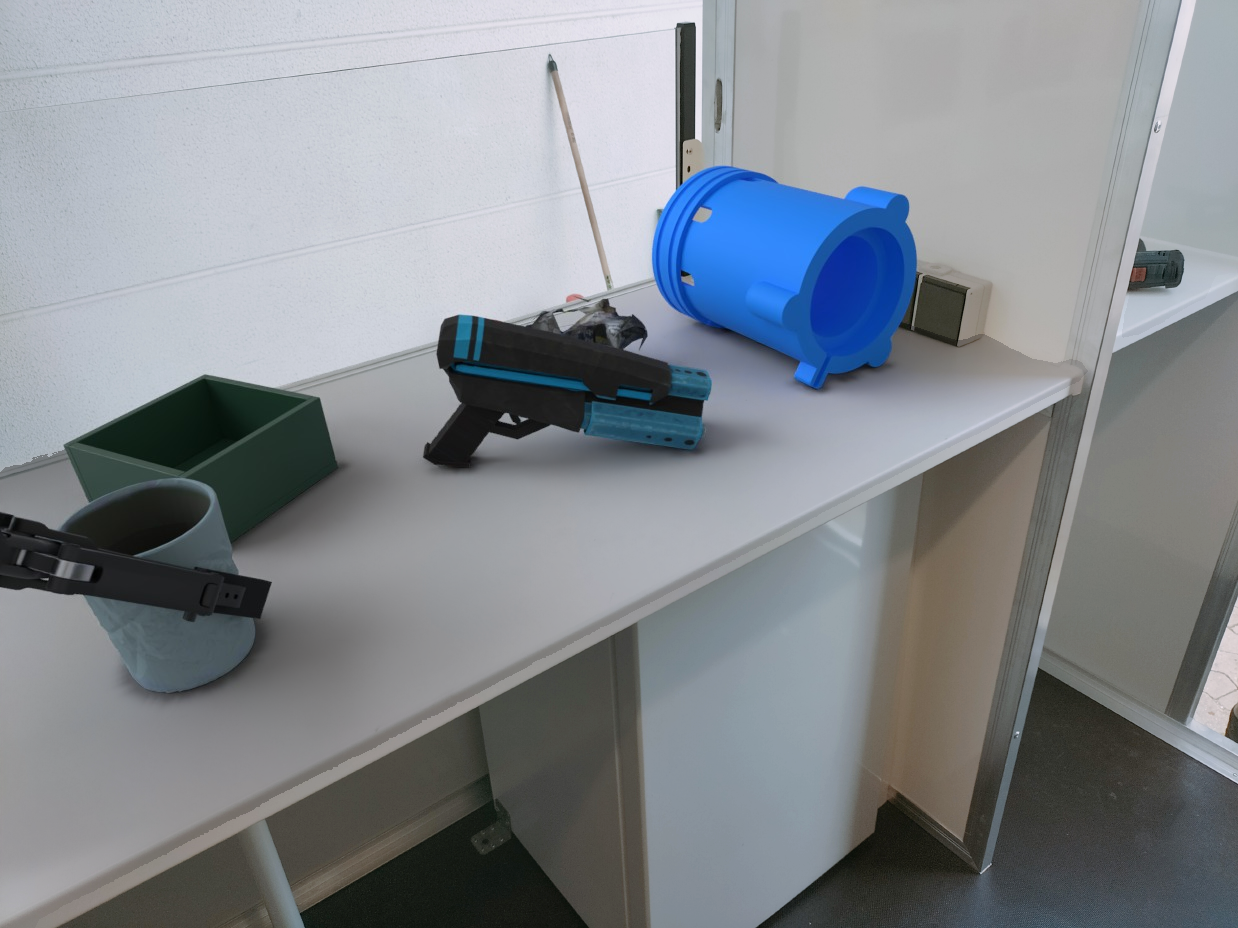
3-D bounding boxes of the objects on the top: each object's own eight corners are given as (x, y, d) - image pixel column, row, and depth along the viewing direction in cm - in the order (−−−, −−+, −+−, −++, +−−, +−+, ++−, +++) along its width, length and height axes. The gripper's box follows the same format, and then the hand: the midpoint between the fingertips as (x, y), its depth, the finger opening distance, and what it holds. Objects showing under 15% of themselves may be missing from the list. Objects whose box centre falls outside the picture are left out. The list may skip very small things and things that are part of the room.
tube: (728, 343, 118) (624, 302, 106) (795, 190, 114) (695, 129, 101) (864, 406, 100) (757, 366, 87) (951, 228, 95) (851, 158, 83)
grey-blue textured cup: (253, 685, 59) (200, 546, 53) (97, 715, 58) (24, 575, 52) (272, 595, 68) (228, 466, 62) (137, 619, 66) (78, 489, 60)
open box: (95, 517, 79) (62, 444, 75) (226, 440, 91) (204, 373, 87) (213, 555, 73) (184, 478, 69) (338, 467, 85) (320, 397, 81)
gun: (685, 510, 86) (727, 377, 79) (419, 478, 80) (438, 330, 73) (672, 470, 93) (709, 343, 85) (425, 437, 87) (443, 299, 80)
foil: (532, 319, 108) (615, 267, 98) (575, 394, 109) (660, 350, 99) (473, 349, 99) (557, 295, 89) (520, 429, 101) (608, 385, 91)
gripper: (-281, 555, 46) (85, 600, 66) (-11, 654, 38) (311, 671, 58) (-222, 424, 47) (118, 508, 68) (50, 492, 39) (344, 565, 60)
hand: (207, 583), depth 63 cm, fingers closed on grey-blue textured cup, 10 cm apart
